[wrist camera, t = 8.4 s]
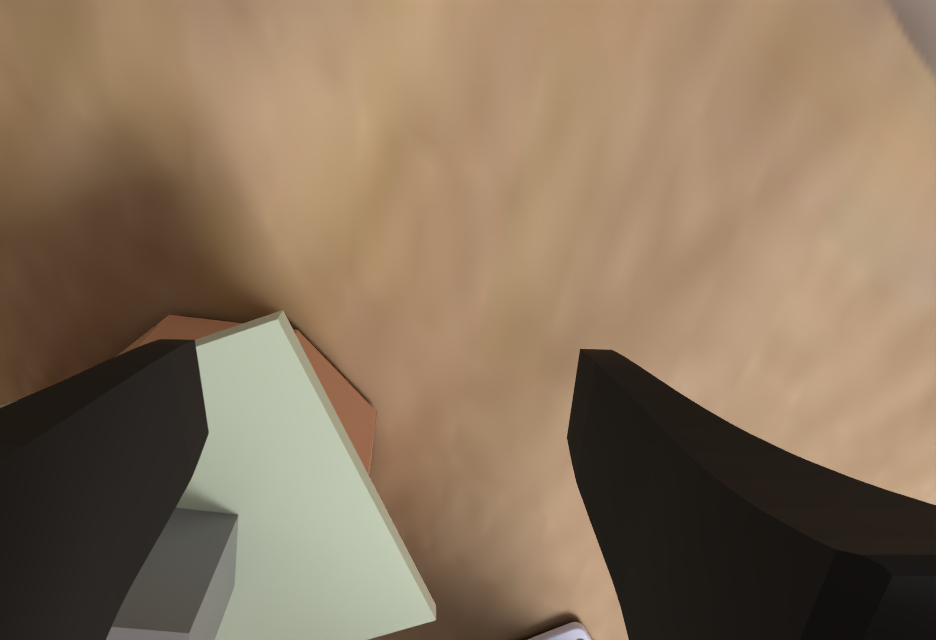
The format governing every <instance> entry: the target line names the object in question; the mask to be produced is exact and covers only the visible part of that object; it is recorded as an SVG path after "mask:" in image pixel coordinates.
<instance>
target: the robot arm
mask: <svg viewBox="0 0 936 640" xmlns="http://www.w3.org/2000/svg"><path fill="white" fill-rule="evenodd" d="M208 434H209V430H208V423H207V417H206V410H205V403H204V397H203V390H202V384H201V377H200V370H199V364H198V357H197V351H196V344H195V340H182V339H159V340H156V341H153V342H149V343H147V344H144V345H142V346H139V347H137V348H134V349H132V350H130V351H127V352H125V353H123V354H121V355H118V356H116V357H114V358H112V359H110V360H107V361H105V362H103V363H101V364H99V365H97V366H94V367H92V368H90V369H88V370H86V371H84V372H81V373H79V374H77V375H75V376H73V377H70V378H68V379H66V380H64V381H62V382H59V383H57V384H55V385H53V386H50V387H48V388H45V389H43V390H41V391H38V392H36V393H34V394H31V395H29V396H27V397H24V398H22V399H19V400H17V401H15V402H12V403H10V404H8V405H5V406H3V407H1V408H0V640H106V638H107V636H108V634H109V632H110V629H111V627H112V625H113V622H114V620H115V618H116V616H117V613H118V611H119V609H120V607H121V605H122V603H123V601H124V599H125V597H126V595H127V593H128V591H129V589H130V587H131V585H132V583H133V582H134V580H135V578H136V576H137V575H138V573H139V571H140V569H141V568H142V566H143V564H144V562H145V561H146V559H147V557H148V555H149V554H150V552H151V550H152V548H153V547H154V545H155V543H156V541H157V540H158V538H159V536H160V534H161V533H162V531H163V529H164V527H165V526H166V524H167V522H168V520H169V519H170V517H171V515H172V513H173V511H174V510H175V508H176V506H177V504H178V502H179V501H180V499H181V497H182V495H183V493H184V492H185V490H186V488H187V486H188V484H189V482H190V481H191V479H192V476H193V474H194V471H195V469H196V466H197V464H198V461H199V459H200V456H201V453H202V451H203V448H204V445H205V442H206V440H207V437H208ZM567 440H568V445H569V450H570V455H571V460H572V465H573V469H574V474H575V478H576V482H577V485H578V488H579V491H580V494H581V496H582V499H583V502H584V505H585V508H586V510H587V513H588V516H589V519H590V521H591V524H592V527H593V529H594V532H595V535H596V538H597V540H598V543H599V546H600V548H601V551H602V554H603V557H604V559H605V562H606V565H607V567H608V570H609V573H610V575H611V578H612V581H613V584H614V587H615V590H616V593H617V597H618V600H619V603H620V606H621V610H622V614H623V618H624V622H625V626H626V630H627V634H628V638H629V640H936V505H933V504H929V503H926V502H923V501H920V500H917V499H914V498H910V497H907V496H904V495H901V494H898V493H894V492H891V491H888V490H885V489H882V488H879V487H876V486H873V485H871V484H868V483H865V482H862V481H859V480H856V479H854V478H851V477H848V476H846V475H843V474H841V473H838V472H835V471H833V470H830V469H828V468H825V467H823V466H820V465H818V464H815V463H813V462H810V461H808V460H805V459H803V458H801V457H798V456H796V455H794V454H791V453H789V452H787V451H785V450H783V449H781V448H778V447H776V446H774V445H772V444H770V443H768V442H766V441H764V440H762V439H760V438H758V437H756V436H753V435H751V434H749V433H747V432H746V431H744V430H742V429H740V428H738V427H736V426H734V425H732V424H731V423H729V422H727V421H725V420H724V419H722V418H720V417H718V416H717V415H715V414H713V413H711V412H710V411H708V410H706V409H705V408H703V407H701V406H700V405H698V404H696V403H695V402H693V401H692V400H690V399H688V398H687V397H685V396H684V395H682V394H680V393H679V392H677V391H676V390H674V389H673V388H671V387H670V386H668V385H667V384H665V383H664V382H662V381H661V380H659V379H658V378H656V377H655V376H653V375H652V374H650V373H649V372H647V371H646V370H644V369H643V368H641V367H640V366H638V365H637V364H635V363H633V362H632V361H630V360H629V359H627V358H626V357H624V356H622V355H620V354H619V353H617V352H615V351H613V350H597V349H580V354H579V361H578V367H577V374H576V381H575V387H574V394H573V401H572V408H571V414H570V421H569V428H568V434H567ZM527 640H592V639H591V637H590V635H589V634H588V632H587V631H586V629H585V627H584V626H583V625H582V624H581V623H578V622H571V623H568V624H566V625H563V626H561V627H558V628H555V629H553V630H550V631H548V632H545V633H543V634H540V635H537V636H535V637H532V638H530V639H527Z"/></svg>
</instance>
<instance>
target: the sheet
mask: <svg viewBox="0 0 936 640" xmlns="http://www.w3.org/2000/svg"><path fill="white" fill-rule="evenodd" d="M195 344H196V351H197V357H198V364H199V370H200V377H201V384H202V390H203V397H204V403H205V410H206V417H207V423H208V430H209V434H208V437H207V440H206V442H205V445H204V448H203V451H202V453H201V456H200V459H199V461H198V464H197V466H196V469H195V471H194V474H193V476H192V479H191V481H190V482H189V484H188V486H187V488H186V490H185V492H184V493H183V495H182V497H181V499H180V501H179V502H178V504H177V506H176V508H175V510H174V511H173V513H172V515H171V517H170V519H169V520H168V522H167V524H166V526H165V527H164V529H163V531H162V533H161V534H160V536H159V538H158V540H157V541H156V543H155V545H154V547H153V548H152V550H151V552H150V554H149V555H148V557H147V559H146V561H145V562H144V564H143V566H142V568H141V569H140V571H139V573H138V575H137V576H136V578H135V580H134V582H133V583H132V585H131V587H130V589H129V591H128V593H127V595H126V597H125V599H124V601H123V603H122V605H121V607H120V609H119V611H118V613H117V616H116V618H115V620H114V622H113V625H112V627H111V629H110V632H109V634H108V636H107V638H106V640H368V639H372V638H375V637H379V636H382V635H386V634H389V633H393V632H396V631H400V630H404V629H407V628H411V627H414V626H418V625H421V624H425V623H428V622H432V621H435V620H436V604H435V602H434V601H433V599H432V597H431V595H430V593H429V591H428V589H427V587H426V585H425V583H424V581H423V579H422V577H421V575H420V574H419V572H418V570H417V568H416V566H415V564H414V562H413V560H412V558H411V556H410V554H409V552H408V550H407V548H406V547H405V545H404V543H403V541H402V539H401V537H400V535H399V533H398V531H397V529H396V527H395V525H394V523H393V521H392V520H391V518H390V516H389V514H388V512H387V510H386V508H385V506H384V504H383V502H382V500H381V498H380V496H379V494H378V493H377V491H376V489H375V487H374V485H373V483H372V481H371V479H370V477H369V475H368V473H367V471H366V469H365V467H364V466H363V464H362V462H361V460H360V458H359V456H358V454H357V452H356V450H355V448H354V446H353V444H352V442H351V440H350V439H349V437H348V435H347V433H346V431H345V429H344V427H343V425H342V423H341V421H340V419H339V417H338V415H337V413H336V412H335V410H334V408H333V406H332V404H331V402H330V400H329V398H328V396H327V394H326V392H325V390H324V388H323V386H322V385H321V383H320V381H319V379H318V377H317V375H316V373H315V371H314V369H313V367H312V365H311V363H310V361H309V359H308V358H307V356H306V354H305V352H304V350H303V348H302V346H301V344H300V342H299V340H298V338H297V336H296V334H295V332H294V331H293V329H292V327H291V325H290V323H289V321H288V319H287V317H286V315H285V313H284V311H283V310H281V311H278V312H275V313H272V314H269V315H266V316H263V317H260V318H258V319H255V320H252V321H249V322H246V323H243V324H240V325H237V326H234V327H231V328H228V329H225V330H222V331H219V332H216V333H213V334H211V335H208V336H205V337H202V338H199V339H196V340H195ZM14 402H15V401H14ZM11 403H12V402H11ZM8 404H10V403H8ZM8 404H5V405H8ZM5 405H2V406H0V408H1V407H3V406H5Z"/></svg>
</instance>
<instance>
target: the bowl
mask: <svg viewBox="0 0 936 640" xmlns="http://www.w3.org/2000/svg"><path fill="white" fill-rule="evenodd" d="M240 324H243V323H236V322H227V321H219V320H210V319H201V318H193V317H184V316H176V315H168V316H167V317H165V318H164V319H163V320H162V321H160V322H159V323H158V324H156V325H155V326H154V327H153V328H151V329H150V330H149V331H148V332H146V333H145V334H144V335H142V336H141V337H140V338H139V339H137V340H136V341H135V342H134V343H132V344H131V345H130V346H128V347H127V348H126V349H125V350H123V351H122V352H121V353H120V354H118V355H121V354H123V353H125V352H127V351H130V350H132V349H134V348H137V347H139V346H142V345H144V344H147V343H149V342H153V341H156V340H159V339H182V340H196V339H199V338H202V337H205V336H208V335H211V334H213V333H216V332H219V331H222V330H225V329H228V328H231V327H234V326H237V325H240ZM293 331H294V332H295V334H296V336H297V338H298V340H299V342H300V344H301V346H302V348H303V350H304V352H305V354H306V356H307V358H308V359H309V361H310V363H311V365H312V367H313V369H314V371H315V373H316V375H317V377H318V379H319V381H320V383H321V385H322V386H323V388H324V390H325V392H326V394H327V396H328V398H329V400H330V402H331V404H332V406H333V408H334V410H335V412H336V413H337V415H338V417H339V419H340V421H341V423H342V425H343V427H344V429H345V431H346V433H347V435H348V437H349V439H350V440H351V442H352V444H353V446H354V448H355V450H356V452H357V454H358V456H359V458H360V460H361V462H362V464H363V466H364V467H365V469H366V471H367V473H368V475H369V477H370V468H371V459H372V450H373V442H374V433H375V424H376V415H377V412H376V411H375V409H374V408H373V407H372V406H371V405H370V404H369V403H368V402H367V401H366V400H365V399H364V398H363V397H362V396H361V395H360V394H359V393H358V392H357V391H356V390H355V389H354V388H353V387H352V386H351V385H350V384H349V383H348V381H347V380H346V379H345V378H344V377H343V376H342V375H341V374H340V373H339V372H338V371H337V370H336V369H335V368H334V367H333V366H332V365H331V364H330V363H329V362H328V361H327V360H326V359H325V358H324V357H323V356H322V355H321V353H320V352H319V351H318V350H317V349H316V348H315V347H314V346H313V345H312V344H311V343H310V342H309V341H308V340H307V339H306V338H305V337H304V336H303V335H302V334H301V333H300V332H299V331H298V330H296V329H293ZM118 355H117V356H118Z"/></svg>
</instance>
